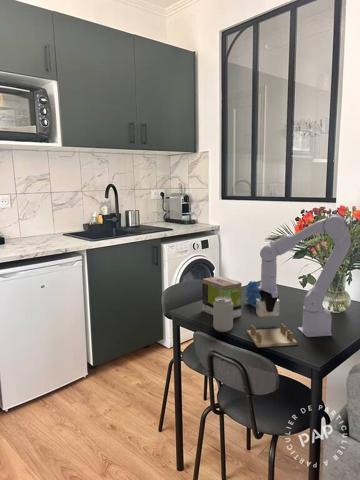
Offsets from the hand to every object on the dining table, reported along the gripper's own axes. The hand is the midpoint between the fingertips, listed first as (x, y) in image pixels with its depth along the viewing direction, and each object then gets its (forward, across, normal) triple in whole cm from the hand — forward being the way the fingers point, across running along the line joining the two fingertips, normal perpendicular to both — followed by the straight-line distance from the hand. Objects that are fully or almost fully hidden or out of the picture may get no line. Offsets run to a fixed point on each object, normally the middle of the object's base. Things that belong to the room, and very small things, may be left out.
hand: (268, 309), depth 138 cm
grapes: (+6, -22, +2) cm, 23 cm away
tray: (+6, +12, -3) cm, 14 cm away
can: (+6, +1, -18) cm, 19 cm away
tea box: (+6, -15, -15) cm, 22 cm away
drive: (+2, 0, 0) cm, 2 cm away
